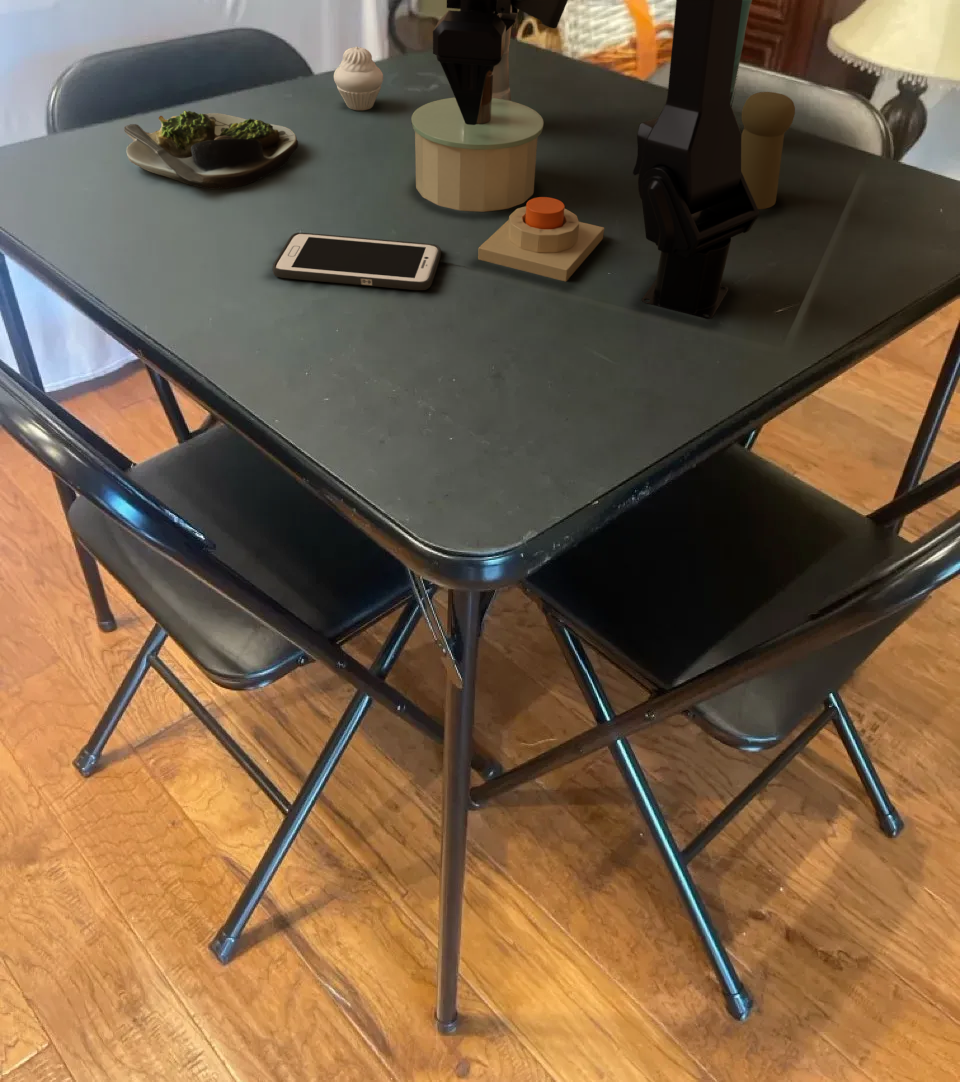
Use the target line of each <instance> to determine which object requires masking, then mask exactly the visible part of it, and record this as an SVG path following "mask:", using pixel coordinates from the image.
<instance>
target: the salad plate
mask: <svg viewBox="0 0 960 1082" xmlns="http://www.w3.org/2000/svg"><path fill="white" fill-rule="evenodd" d="M158 120H159V122H160V124H161V127H160V128H159V129H158V130H155V131H153V132H147V131H145V130H144V129H143V128H142V127H141V126H140V125H139V124H137V123H129V124H127V125H126V126H124V127H123V130H124V131H123V132H124V133H125V134H126V135H127V136H128V137H130V139H132V142H131V143H129V144H128V145H127V147H126V155H127V159H128V160H129V162H130V163H132V164H134V165H136V166H137V167H139V168H141V169H143V170H145V171H148V172H150V173H153V174H156V175H159V176H162V177H166V178H169V179H171V180H175V181H178V182H181V183H183V184H186V185H190V186H194V187H198V188H203V189H211V190H212V189H214V190H216V189H217V190H220V189H222V190H223V189H231V188H239V187H243V186H246V185H250V184H253V183H254V182H257V181H259V180H260V179H264V178H265V177H266V176H268V175H271V174H272V173H274V172H276V171H278V170H280V169H281V168H283V167H284V166H285V165H287V163H288V162H289V161H290V159H291V158H292V156H293V155H294V153H295V152H296V151H297V149H298V147H299V141H298V138H297V135H296V134H295V133H294V131H293V130H292V129H290V128H288V127H286V126H284V125H283V126H282V125H278V124H273V123H268V122H264V121H263V120H261V119H254V118H251V117H250V118H249V119H246V118H243V117H238V116H235V115H229V114H225V113H220V112H219V113H217V112H211V113H208V112H207V113H198V112H195V111H191V110H187V111H186V110H183V112H182V113H179V115H173V116H171V117H170V118H167V119H166V118H164V116H163V115H160V116H159V117H158Z"/></svg>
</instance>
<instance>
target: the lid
mask: <svg viewBox="0 0 960 1082" xmlns="http://www.w3.org/2000/svg"><path fill="white" fill-rule="evenodd" d="M492 86H493V72H492V71H488V72H487V76H486V81H485V86H484V91H483V96H482V100H481V105H480V110H479V115H478V120H477V124H476V125H467V124H466V123H465V121H464V119H463V116H462V114H461V111H460V109H459V106H458V104H457V101H456V99H455V97H448V98H443V99H442V98H441V99H438V100H434V101H430V102H428V103H425V104H423V105H421V106H420V107H418V108H417V109H415V110H414V112H413V113H412V114H411V127H412V129H413V131H414V133H415V132H416V133H418V134H419V135H420V136H422V137H424V138H425V139H428V140H430V141H432V142H435V143H438V144H442V145H446V146H451V147H456V148H464V149H479V150H487V149H502V148H509V147H514V146H518V145H522V144H525V143H528V142H530V141H532V140H534V139H535V138H537V139H538V137H539V136H540V135H541V134H542V133H543V131H544V124H545V123H544V119H543V117H542V116H541V115H540V113H538V112H537V111H536V110H535V109H534V108H533V109H532V108H531V107H529V106H527V105H524V104H522V103H518V102H516V101H512V100H511V101H508V100H503V99H497V98H492Z"/></svg>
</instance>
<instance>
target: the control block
mask: <svg viewBox="0 0 960 1082" xmlns="http://www.w3.org/2000/svg"><path fill="white" fill-rule="evenodd" d="M508 216H509V217H508V220H507V221H505V223H504V224H502V225H501V226H500V227H499V228H498V229H497V230H496V231H495V232H494V233H493V234H492V235H490V237H488V239H486V240H485V241H484V242H483V243H482V244H481V245H480V246H479V247H478V254H477V259H478V260H479V261H483V262H487V263H491V264H495V265H499V266H503V267H506V268H511V269H514V270H519V271H523V272H527V273H530V274H534V275H538V276H542V277H546V278H549V279H550V278H551V279H554V280H558V281H562V282H567V281H568V280H569V279H570V278H571V276H573V274H574V273H575V272H576V271H577V270H578V269H579V268H580V266H581V265H582V264H583V263H584V262H585V260H586V259H587V258H588V257H589V255H591V254H592V252H593V251H594V250H595V249H596V247H597V246H598V245H599V244H600V243H601V242H602V240H603V239H604V234H605V233H604V232H605V227H603V226H600V225H599V226H598V225H595V224H591V223H587V222H582V221H580V220H579V219H578V216H577V214H575V213H573V212H572V211H570V210H568V209H567V208H564V218H563V225H562V227H559V228H556V229H538V228H533V227H530V226H528V225H527V224H526V223H525V217H526V205H525V206H522V207H518V208H516V209H515V210H514V211H513V212H512V213H511V214H510V215H508Z"/></svg>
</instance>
